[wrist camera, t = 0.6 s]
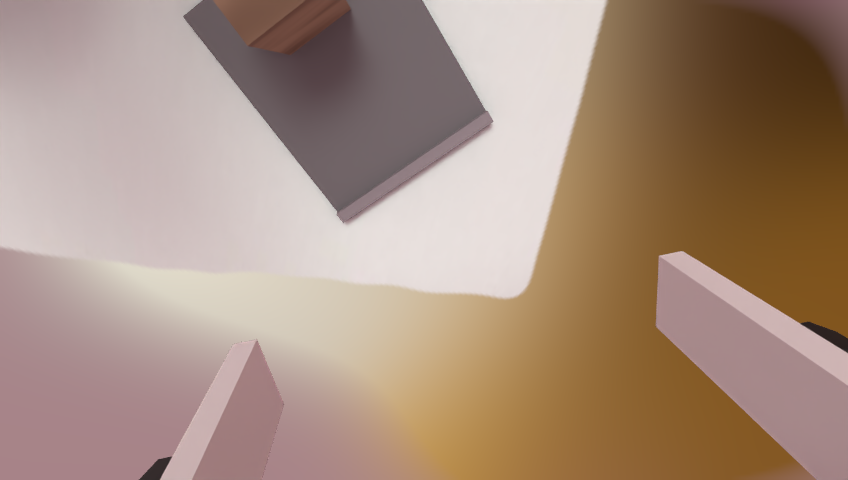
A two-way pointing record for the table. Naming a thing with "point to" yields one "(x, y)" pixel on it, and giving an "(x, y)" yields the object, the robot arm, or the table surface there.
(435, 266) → the table surface
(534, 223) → the table surface
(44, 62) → the table surface
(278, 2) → the walnut block
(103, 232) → the table surface
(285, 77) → the mat
